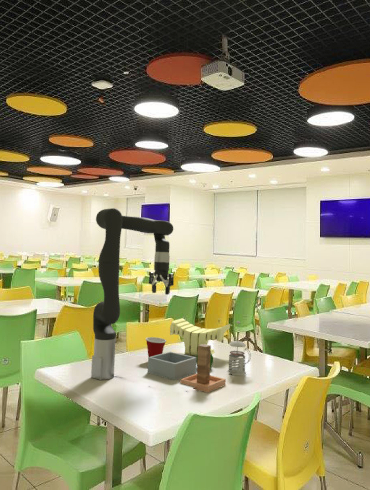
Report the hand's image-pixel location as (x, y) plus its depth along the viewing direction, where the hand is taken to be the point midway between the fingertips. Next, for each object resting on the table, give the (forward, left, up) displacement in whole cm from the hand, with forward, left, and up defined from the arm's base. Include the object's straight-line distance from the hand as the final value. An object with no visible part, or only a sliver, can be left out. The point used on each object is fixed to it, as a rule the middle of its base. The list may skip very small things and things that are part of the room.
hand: (160, 293), depth 204 cm
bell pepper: (+12, -20, -36) cm, 43 cm away
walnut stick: (-8, -33, -35) cm, 49 cm away
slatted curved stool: (+36, 0, -36) cm, 51 cm away
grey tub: (-6, -14, -36) cm, 39 cm away
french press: (+19, -35, -36) cm, 54 cm away
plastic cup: (+5, +6, -36) cm, 37 cm away
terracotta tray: (-8, -33, -36) cm, 50 cm away
